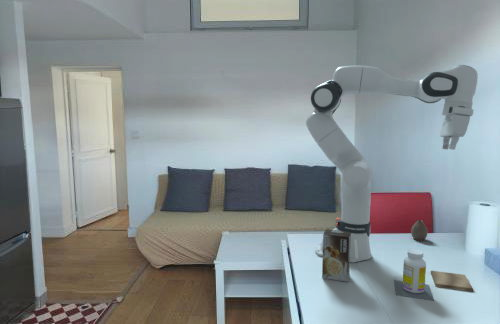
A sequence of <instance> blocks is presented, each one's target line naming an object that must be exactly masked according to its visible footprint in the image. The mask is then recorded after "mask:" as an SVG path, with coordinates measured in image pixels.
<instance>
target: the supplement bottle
mask: <svg viewBox="0 0 500 324" xmlns="http://www.w3.org/2000/svg"><path fill="white" fill-rule="evenodd" d="M406 253H407V257H405V258H404V259H403V269H402V273H403V274H402V281H403V288H404V289H405V290H406V291H408V292H411V293H422V292H424V289H425V284H426V271H427V262H426V261H425V260H424V259H423V258H424V252H423V251H422V250H418V249H412V248H411V249H408V250H407V252H406Z"/></svg>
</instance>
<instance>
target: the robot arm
mask: <svg viewBox="0 0 500 324" xmlns="http://www.w3.org/2000/svg"><path fill="white" fill-rule="evenodd" d="M478 74H479V73H478V71H477V69H475V68H474V67H471V66H469V65H466V64H458V65H455V66H454V67H451V68H448V69H445V70H441V71H440V70H439V71H433V72H430V73H428V74H427V75H426V76H425V77H423V78H422V79H420V80H412V79H404V78H403V79H402V78H396V77H393V76H391V75H390V74H388V73H387V72H386V71H385V70H383V69H382V68H380V67H377V66H376V67H375V66H371V65H345V66H344V65H343V66H339V67H337V68H336V69H335V70H334V72H333V74H332V79H330V80H328V81H325V82H323V83H321V84H318V86H315V88H314V89H313V90H312V91H311V94H310V104H311V106H312V107H313V108H314V109H313V112H312V113H311V114H309V116H308V117H307V119H306V121H305V125H306V127H307V129H308V131H309V133H310V135H311V137H312V138H313V139H314V141H315V143H316V144H317V145H318V147H319V148H320V150H321V151H322V152H323V153H324V155H325V156H326V157H327V159H328V160H329V161H330V162H331V163H332V164H333V165H334V166H335V167H336V168H337V170H338V171H339V172H340V173H341V215H340V216H341V217H336V218H335V227H334V228H333V229H332V230H338V231H346V232H351V243H350V263H358V262H361V261H367V260H369V259H371V258H372V257H373V255H372V251H371V246H370V235H371V226H372V225H371V221H370V217H371V216H370V215H371V198H372V197H371V196H372V181H373V179H372V178H373V173H372V167H371V165H370V164H369V162H368V161H367V160H366V158H365V157H364V156H363V155H362V154H361V152H360V151H359V149H357V148H356V147H355V145H354V144H353V143H352V142H351V140H350V139H349V138H348V136H347V135H346V134H345V133H344V131H343V130H342V128H341V127H340V126H339V125H338V123H337V122H336V121H335V119H334V118H333V117H334V116H333V115H334V113H336V111H337V109H338V108H339V107H340V104H341V103H342V102H341V101H342V98H343V96H346V95H360V96H379V95H395V96H404V97H412V98H415V99H418V100H420V101H421V102H423V103H424V104H435V103H438V102H440V101H441V100H442V99H443V100H444V104H443V109H442V114H441V115H442V116H444V117H445V118H443V122H442V125H441V128H440V132H439V136H440V138H442V146H441V149H442V150H451V151H452V150H456V147H457V144H458V142H459V140H460V138H462V137H465V135H466V133H467V130H468V127H469V125H470V121H471V120H470V119H471V117H472V116H473V115H474V109H473V105H474V103H473V99H474V95H475V94H476V90H477V85H478V79H479V78H478ZM315 254H316V256H320V257H323V238H322V239H321V243H319V244H317V246H316V247H315Z"/></svg>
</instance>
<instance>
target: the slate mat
mask: <svg viewBox="0 0 500 324" xmlns="http://www.w3.org/2000/svg"><path fill="white" fill-rule="evenodd" d="M393 281H394V282H393V283H394V288H395V289H394V290H395V295H396V296H400V297H406V298H413V299H420V300H421V299H422V300H427V301H435V298H434V295H433V292H432V289H431V287H430V284H427V283H425V289H424V292H422V293H411V292H408V291H406V290H405V289H404V288H403V280H397V279H393Z"/></svg>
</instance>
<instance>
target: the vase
mask: <svg viewBox="0 0 500 324" xmlns="http://www.w3.org/2000/svg"><path fill="white" fill-rule="evenodd" d="M410 233H411V234H410V235H411V238H413V239H414V240H415V241H424V240H425V239H426V238H428V227H427V226H426V225H425V223H424V221H423V220H422V219H421V220H419V219H417V220H416V221H415V223H414V224H413V225H412V227H411V229H410Z"/></svg>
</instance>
